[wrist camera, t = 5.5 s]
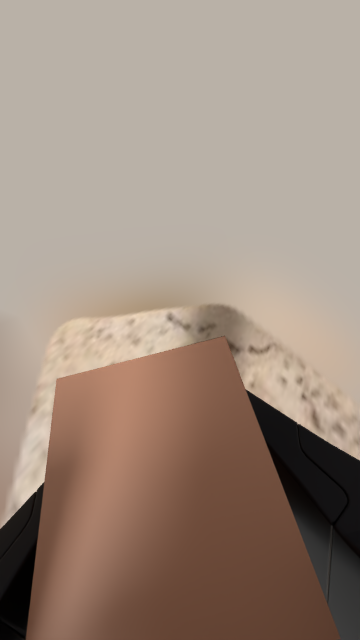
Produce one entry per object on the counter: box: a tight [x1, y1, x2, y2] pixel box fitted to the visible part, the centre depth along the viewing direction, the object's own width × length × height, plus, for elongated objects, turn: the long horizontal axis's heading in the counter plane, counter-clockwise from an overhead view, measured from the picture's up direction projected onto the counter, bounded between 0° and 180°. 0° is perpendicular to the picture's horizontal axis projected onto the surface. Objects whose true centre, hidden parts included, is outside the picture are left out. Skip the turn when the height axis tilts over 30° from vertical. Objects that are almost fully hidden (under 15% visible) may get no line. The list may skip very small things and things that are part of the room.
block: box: [26, 336, 341, 640], centre depth 8 cm, size 4×4×11 cm
